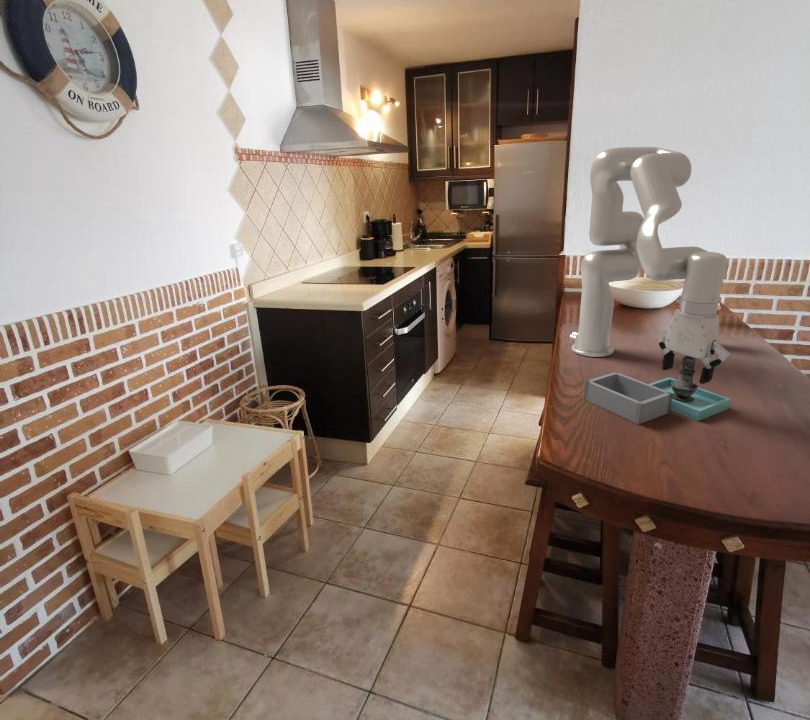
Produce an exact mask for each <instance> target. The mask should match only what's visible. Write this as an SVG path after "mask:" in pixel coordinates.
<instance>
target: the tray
mask: <svg viewBox="0 0 810 720" xmlns="http://www.w3.org/2000/svg"><path fill="white" fill-rule="evenodd" d="M675 380H677V379H675V378H672V377H666V378H663V379H660V380H656V381H654V382H651V383H648V384H649V385H652V386H654V387H657V388H660V389H662V390H665V391H667V392H670V393H673V394H674V392H673V390H672V385H671V382H672V381H675ZM691 397H693V398H694V401H693V402H691V403H682V402H679V401H676V400H674V399H672V401H671V407H670V411H672V412H675V413H678V414H680V415H682V416H684V417H687V418H690V419H691V420H693V421H697V422H700V421H701V420H705V419H707V418H709V417H711V416H715V415H717V414H719V413H721V412H724V411H727V410H729V409H730V407H731V406H730V405H731V402H732V399H731V398H729V397H726V396H723V395H720V394H718V393H715V392H713V391H709V390H706V389H703V388H700V387H698V389H696V391H695V393H694V394H693V395H691Z"/></svg>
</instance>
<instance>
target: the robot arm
mask: <svg viewBox="0 0 810 720" xmlns="http://www.w3.org/2000/svg"><path fill="white" fill-rule="evenodd" d="M589 174H590V175H589V181H590V187H591V189H590V190H591V206H590V216H589V229H588V231H589V232H588V233H589V234H588V237H589V241H590V242H591V244H592V245H594V246H599V247H607V246H608V247H610V246H619V249H603V250H602V249H601V250H594V251H591V252H588V253H587V254H586V255H584V257H583V258H582V259H581V261H580V262H581V263H580V277H581V299H580V307H579V308H580V311H579V320H578V331H575V330H574V331H572V333H571V334H570V335H569V338H570V339H571V340H574V343H573V344H572V345H571V350H572V352H574V353H575V354H578V355H581V356H585V357H592V358H603V357H608V356H609V357H610V356H612V354H614V351H615V350H614V347H613V346H612V345H610V340H611V331H612V322H613V313H614V306H615V294H614V291H613V290H612V288H611V285H610V283H613V282H623V281H624V282H625V281H630V280H633V279H635V278H636V277H638V276H639V274H640V271H641V269H642V270H643V272H644V273H645V275H646V277H648V278H649V279H651V280H653V281H657V282H660V281H662V282H663V281H664V282H665V281H670V280H671V281H672V280H673V281H674V280H683V287H682V293H681V297H678V298H676V300H675V303H676V304H679V306H678V308H677V309H675V311H674V312H673V315H672V318H671V320H670V323H669V326H668V329H667V331H664V332H660V333H657V334H656V337H657V342H658V346H659V348H660V349H661V353H662V355H663V359H662V366H661V367H662V368H661V369H662V371H667V370H671V369H673V367H674V362H675V357H676V353H677V354H680V355H682V356H689V357H692V358H695V359H696V360H701V362H702V363H703V365H704V366H703V367H702V369H701V373H700V377H699V383H700V384H702V385H704V384H707V383H709V382H710V381H711V380H712V379H713V377H714V372H715V368H716V367H718V366H720V365H721V364H723V363H725V361H726V360H727V359H728V358H729V357H730V355H731V353H730V352H729V351H728V350H727V349H726V348H725V347H723V346H722V345H721V344H720V343H718V342H719V332H720V317H719V314H718V315H716V313H717V308H718V303H719V304H720V298H721V292H722V288H723V282H724V279H725V278H724V277H725V272H726V268H727V263H728V259H727V257H726V255H725V254H723V253H720V252H714V251H707V250H706V249H703V248H701V247H699V246H678V247H676V246H674V247H664V248H663V246H662V243H661V241H660V237H659V233H658V230H659V229H658V228H659V225H660V224H663V223H665V222H666V221H668V220H670V219H672V218H673V217H675V216H676V215H677V214H678V213H679V212H680V210H681V209H682V207H683V206H682V205H683V203H682V202H683V201H682V200H681V198H680V195H679V192H678V190H677V188H680V187H682V186H684V185H685V184H686V183H687V182H688V181H689V179H690V177H691V175H692V163H691V161H690V159H689V157H688V156H687V155H686V154H684V153H683V152H680V151H675V150H669V149H666V148H662V147H657V146H656V147H654V146H640V147H639V146H635V147H634V146H630V147H628V146H627V147H613V148H609V149H604V150H602V151H600V152H599V153H598V154H597V155H596V157H595V158H594V160H593V161H592V164H591V166H590V172H589ZM623 181H626V182H629V181H630V182H631V181H632V185H633V187H634V190H635V193H636V196H637V199H638V202H639V205H640V209H641V212H642V214H641V213H640V212H638V211H634V210H633V211H631V210H630V211H628V210H627V211H623V209H624V208H623V207H624V199H625V198H624V197H625V196H624V192H623V190H622V188H621V185H620V184H619V183H618V182H623ZM716 353H717V354H718V357H717V358H715V354H716Z"/></svg>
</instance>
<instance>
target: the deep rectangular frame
mask: <svg viewBox="0 0 810 720" xmlns="http://www.w3.org/2000/svg"><path fill="white" fill-rule="evenodd" d="M649 384H650V383H647V382H644V381H641V380H638V379H635V378H633V377H631V376H629V375H628V376H627V375H625V374H622V373H621V372H617V371H614V372H611V373H608V374H604V375H601V376H597V377H594V378H591V379H588V380H585V384H584V385H585V386H584V394H583V395H584V396H583V400H584V401H586V402H589V403H591V404H593V405H595V404H596V405H595V406H598V407H600V408H602V409H604V410H606V411H608V412H611V413H612V414H615V415H617V416H619V417H621V418H623V419H626V420H628V421H629V422H633V423H634V424H635V425H640V424H644V423H645V422H648V421H651V420H654V419H656V418H657V419H658V418H659V417H662V416H664V415H668V414H670V411H671V410H670V407H671V401H672V395H673V393H670V392H667V391H665V390H662V389H660V388H657V387H654V386H652V385H649Z"/></svg>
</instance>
